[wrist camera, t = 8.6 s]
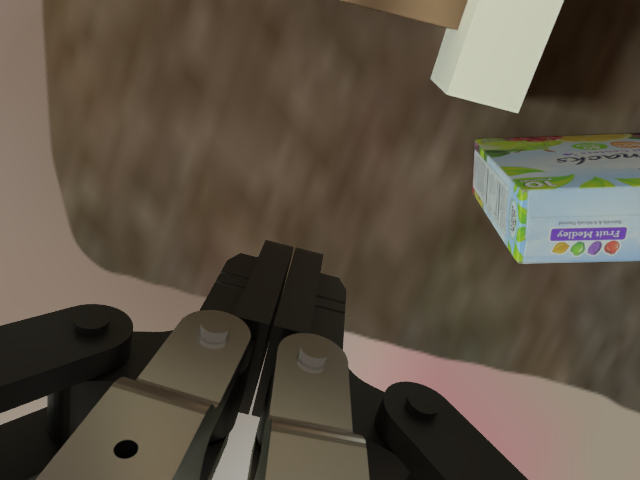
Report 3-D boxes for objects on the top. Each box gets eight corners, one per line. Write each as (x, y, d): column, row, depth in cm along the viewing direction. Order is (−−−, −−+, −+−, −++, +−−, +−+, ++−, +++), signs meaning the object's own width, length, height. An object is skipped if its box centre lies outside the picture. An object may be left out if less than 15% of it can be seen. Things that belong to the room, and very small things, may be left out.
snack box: (735, 121, 41) (920, 174, 28) (718, 186, 44) (882, 265, 30) (472, 134, 43) (523, 190, 30) (469, 195, 46) (515, 273, 32)
